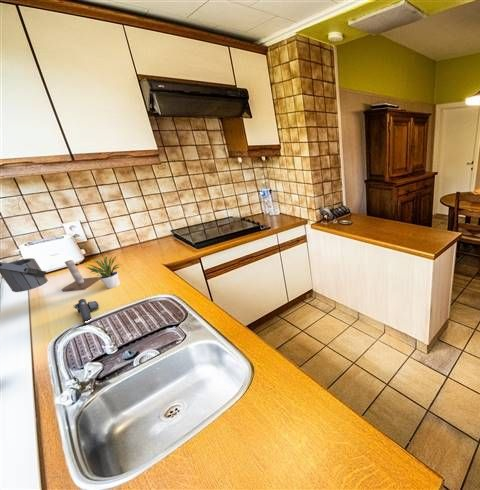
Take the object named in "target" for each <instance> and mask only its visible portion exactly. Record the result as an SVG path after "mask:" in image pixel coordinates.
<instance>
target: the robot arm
mask: <svg viewBox="0 0 480 490" xmlns="http://www.w3.org/2000/svg"><path fill="white" fill-rule="evenodd" d="M9 263H10V262H3V261H0V270H5V271H12V272H19V273H23V275H25V274H27V275H32V276H37V277H42V278H44V276H45V277H46V275H47V271H45V270H42V269H41V270H42V271H41V270H37V269H32V268H30V267H26V266H20V265H15V264H9Z"/></svg>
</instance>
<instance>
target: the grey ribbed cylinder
mask: <svg viewBox="0 0 480 490" xmlns="http://www.w3.org/2000/svg"><path fill="white" fill-rule="evenodd" d="M8 263H9V264H15V265H20V266H26V267H30V268H32V269H37V270H41V271H43V270H42V268H41V267H40V265H39V264H38V262H37V260H36V259H35V258H33V257H31V258H22V259H18V260H13V261H10V262H8ZM0 276H1V277H2V278H3V280H4V281H5V283H6V284H7V286H8V287H9V288H10V290H11V291H12V292H13V293H23V292H27V291H31V290H33V289H37V288H39V287H41V286H44V285H45V284H47V282H48V281H49V280H48V278H47V277H46V275H45V276H44V278H42V277H37V276H32V275H27V274H25V275H23V273H19V272H12V271H5V270H0Z"/></svg>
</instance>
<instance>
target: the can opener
mask: <svg viewBox="0 0 480 490" xmlns="http://www.w3.org/2000/svg"><path fill="white" fill-rule="evenodd" d="M72 306H73V309H75V310H76V309H77V313H78V314H80V316H81V320H82V322H85V321H88V320H90V319H92V315H91V312H93V311H96V310H98V309H99V303H98V302H97V301H96V300H92V301H88V302H87V300H86V299H85V298H80V299H79V300H78V302H77V303H76V304H74V305H72Z"/></svg>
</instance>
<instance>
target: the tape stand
mask: <svg viewBox="0 0 480 490" xmlns="http://www.w3.org/2000/svg"><path fill="white" fill-rule="evenodd" d="M64 264H65V265H66V267H67V269H68V271H69V273H70V274H71V276H72V278H73V279H74V281H72V282H71V283H69V284H67V285H66V286H64V287H63V288H61V291H62V292H63V293H65V292H73V291H74V292H75V291H82V290H86V289H88V288H89V287H91V286H93V285H95V284H96V283H97V282H98V281H101V280H100V279H99V277H100V276H97V277H96V276H95V277H85V278H84V277H83V276H82V274H81V272H80V271H79V269H78V267H77V265H76V263H75V261H74V260H73V259H69V260H66V261H64Z"/></svg>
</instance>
